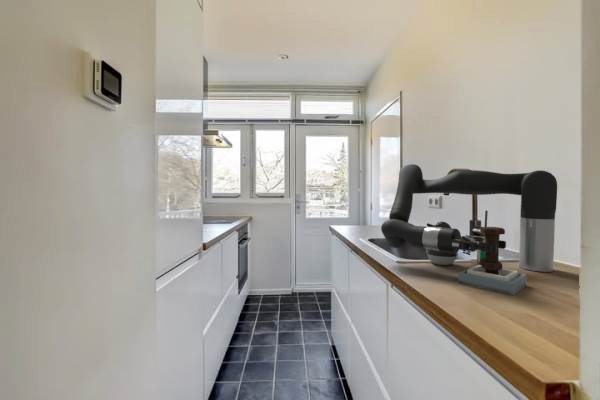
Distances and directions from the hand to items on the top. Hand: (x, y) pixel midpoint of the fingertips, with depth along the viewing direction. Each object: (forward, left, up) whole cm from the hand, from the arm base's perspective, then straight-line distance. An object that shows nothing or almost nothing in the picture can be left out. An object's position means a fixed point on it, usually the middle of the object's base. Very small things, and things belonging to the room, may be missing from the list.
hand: (501, 246), depth 83 cm
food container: (-18, -8, -11) cm, 23 cm away
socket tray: (0, -2, -11) cm, 11 cm away
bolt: (0, -2, -10) cm, 10 cm away
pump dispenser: (-14, -22, -11) cm, 28 cm away
